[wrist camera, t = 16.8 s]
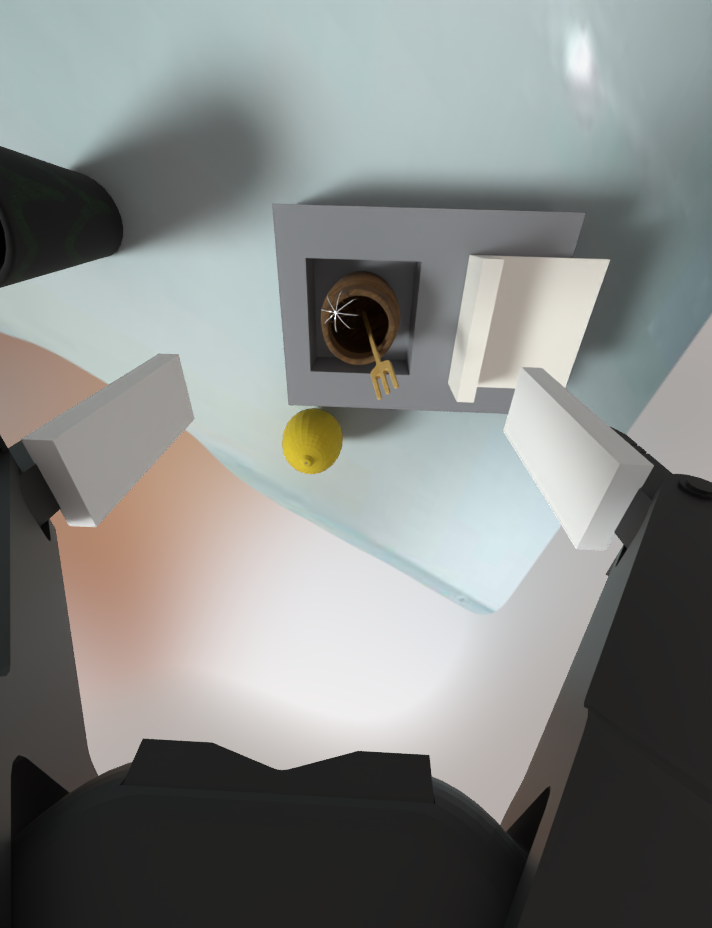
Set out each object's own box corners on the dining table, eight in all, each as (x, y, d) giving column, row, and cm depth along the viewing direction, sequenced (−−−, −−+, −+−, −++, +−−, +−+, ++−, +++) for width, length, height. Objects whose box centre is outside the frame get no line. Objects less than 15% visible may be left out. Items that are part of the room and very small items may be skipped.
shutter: (469, 254, 25) (483, 258, 21) (605, 259, 24) (639, 263, 21) (448, 383, 29) (456, 401, 26) (560, 387, 29) (583, 407, 26)
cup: (145, 193, 28) (13, 172, 18) (128, 289, 31) (11, 318, 21) (35, 129, 26) (-180, 66, 16) (31, 239, 30) (-145, 245, 20)
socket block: (287, 207, 28) (272, 203, 24) (553, 215, 27) (585, 212, 23) (298, 383, 35) (288, 404, 31) (506, 392, 35) (524, 414, 31)
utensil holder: (369, 251, 28) (365, 265, 18) (413, 320, 31) (431, 364, 21) (311, 301, 30) (280, 338, 20) (357, 361, 33) (350, 420, 23)
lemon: (310, 385, 35) (294, 421, 29) (356, 416, 37) (351, 458, 30) (281, 425, 38) (261, 468, 31) (326, 453, 40) (316, 499, 33)
